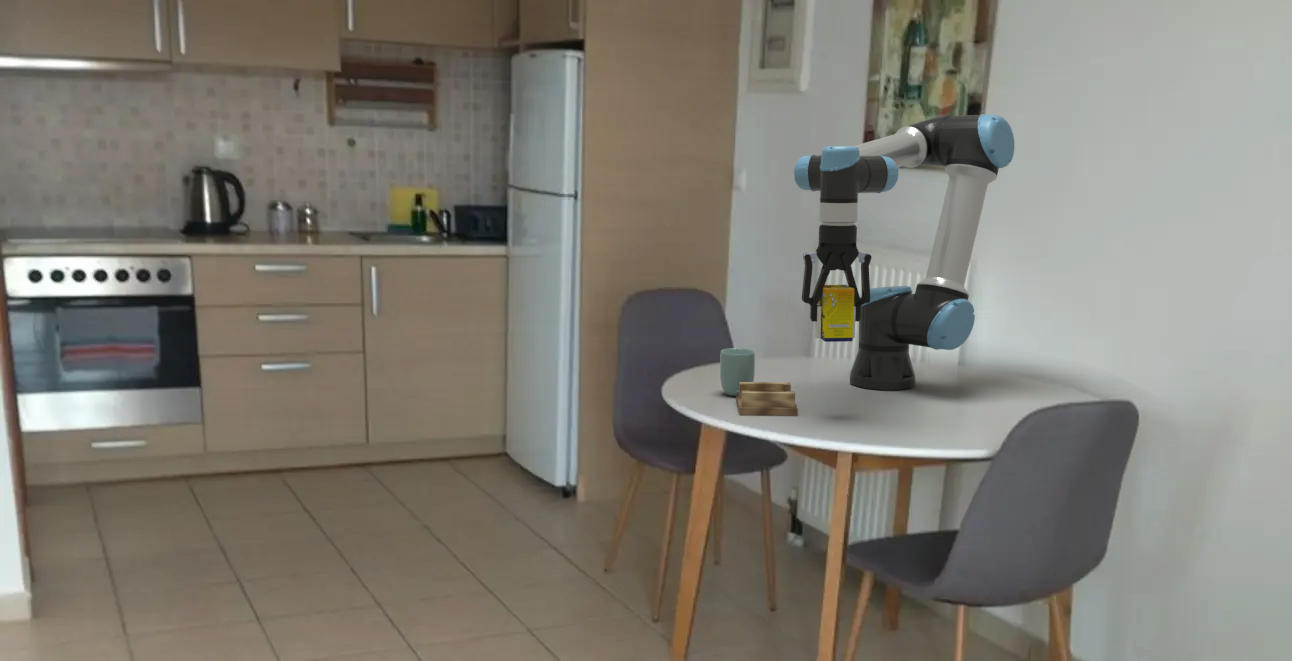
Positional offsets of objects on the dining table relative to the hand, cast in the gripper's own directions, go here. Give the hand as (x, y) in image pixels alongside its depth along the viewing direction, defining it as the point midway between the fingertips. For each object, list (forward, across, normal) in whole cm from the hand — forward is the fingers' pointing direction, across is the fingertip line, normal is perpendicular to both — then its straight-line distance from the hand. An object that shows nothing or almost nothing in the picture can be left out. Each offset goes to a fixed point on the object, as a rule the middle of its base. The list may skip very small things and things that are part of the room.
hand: (834, 337), depth 222 cm
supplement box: (+1, 0, 0) cm, 1 cm away
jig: (+17, +13, -8) cm, 23 cm away
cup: (+17, +18, -21) cm, 32 cm away
